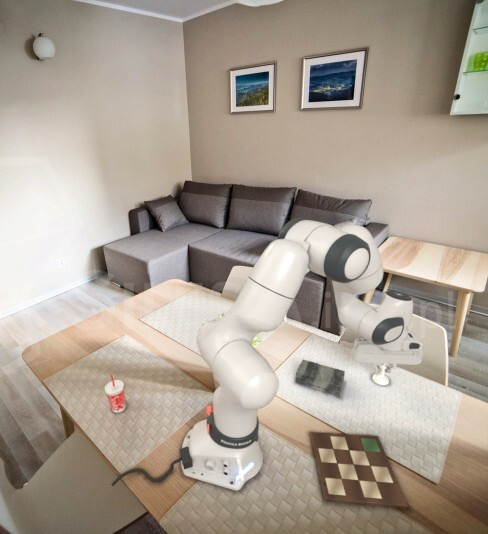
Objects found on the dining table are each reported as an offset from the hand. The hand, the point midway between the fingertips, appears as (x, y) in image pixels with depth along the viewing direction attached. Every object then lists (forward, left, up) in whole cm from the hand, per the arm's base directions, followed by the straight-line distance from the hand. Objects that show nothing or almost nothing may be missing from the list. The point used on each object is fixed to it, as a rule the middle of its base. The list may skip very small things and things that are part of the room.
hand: (382, 371), depth 109 cm
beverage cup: (-87, -17, -4) cm, 89 cm away
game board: (-18, -32, -4) cm, 37 cm away
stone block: (-20, -2, -4) cm, 20 cm away
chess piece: (0, 0, -4) cm, 4 cm away
